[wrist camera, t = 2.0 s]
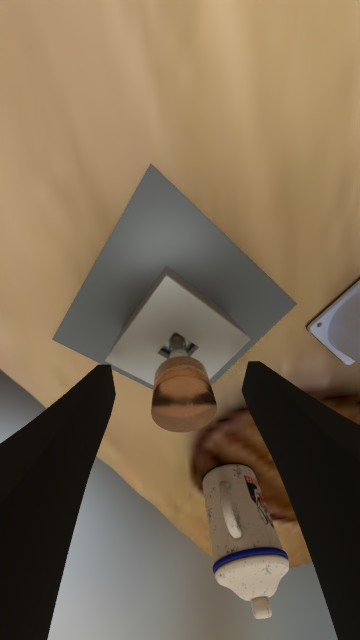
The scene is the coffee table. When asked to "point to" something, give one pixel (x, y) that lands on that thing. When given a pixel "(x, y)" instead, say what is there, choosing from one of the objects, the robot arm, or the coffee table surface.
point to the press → (170, 290)
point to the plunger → (182, 390)
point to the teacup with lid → (243, 536)
